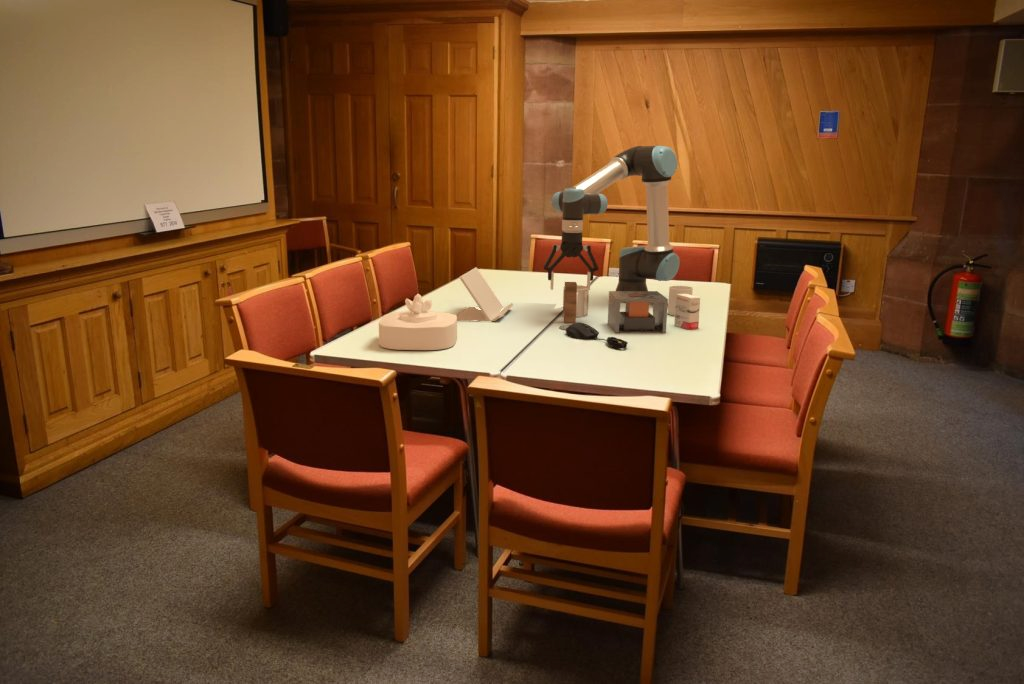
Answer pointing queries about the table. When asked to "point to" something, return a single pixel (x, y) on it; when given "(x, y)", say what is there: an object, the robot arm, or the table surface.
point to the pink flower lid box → (418, 328)
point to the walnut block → (570, 302)
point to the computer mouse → (592, 335)
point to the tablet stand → (481, 299)
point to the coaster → (563, 327)
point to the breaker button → (637, 309)
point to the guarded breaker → (637, 323)
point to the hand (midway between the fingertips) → (570, 289)
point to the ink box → (687, 311)
